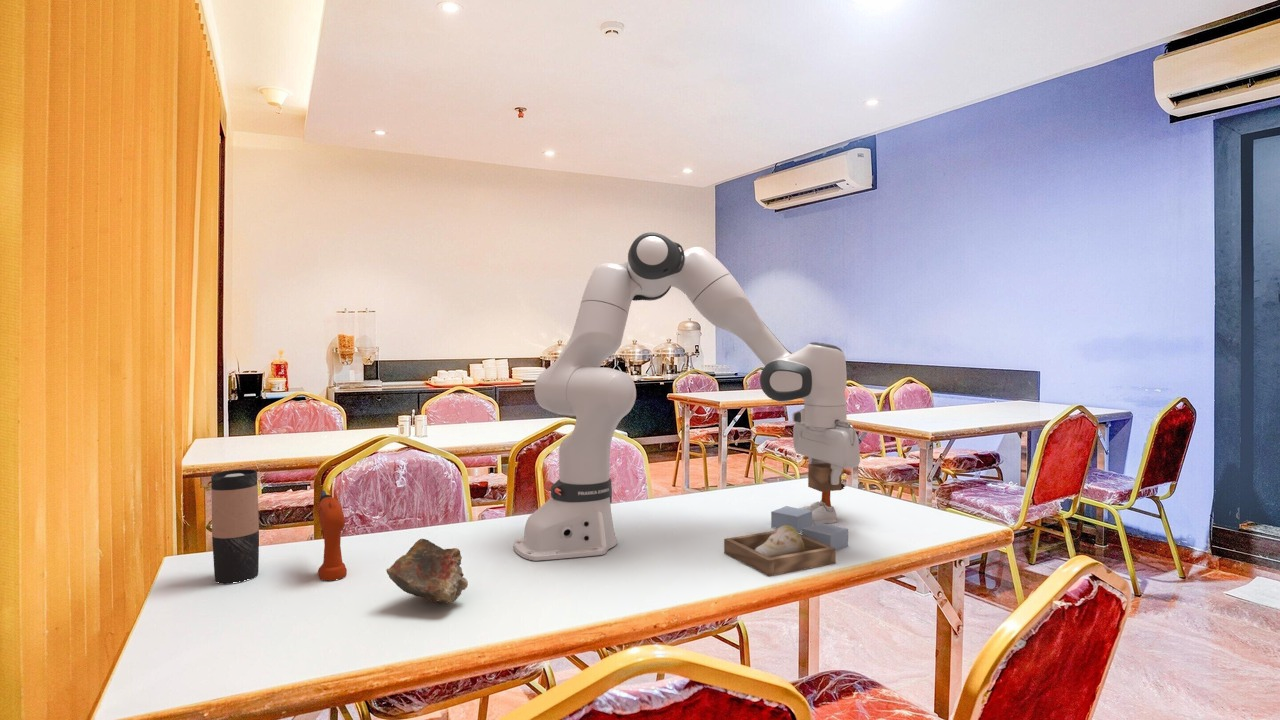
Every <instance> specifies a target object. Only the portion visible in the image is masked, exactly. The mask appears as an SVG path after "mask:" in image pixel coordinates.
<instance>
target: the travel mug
mask: <svg viewBox="0 0 1280 720" xmlns="http://www.w3.org/2000/svg"><path fill="white" fill-rule="evenodd" d="M210 478H211V479H210V480H211V481H210V482H211V483H210V484H211V487H210V488H211V538H212V540H211V541H212V556H213V571H214V573H213V574H214V582H215V581H216V582H219V583H233V582H239V581H244V580H247V579H251V578H253V579H255V578H256V577H258V575H259V569H260V568H259V566H260V565H259V561H260V560H259V558H260V557H259V556H260V555H259V553H260V551H259V550H260V549H259V548H260V547H259V546H260V522H259V521H260V520H259V518H260V517H259V515H260V514H259V492H258V491H259V490H258V489H259V488H258V471H257V470H255V469H247V468H245V469H233V470H232V469H230V470H224V471H220V472H219V471H218V472H215V473H213V474H212V475H211V476H210ZM255 576H256V577H255ZM254 577H255V578H254ZM251 580H252V579H251ZM216 582H215V583H216ZM219 583H218V584H219Z"/></svg>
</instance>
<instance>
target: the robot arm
mask: <svg viewBox="0 0 1280 720" xmlns="http://www.w3.org/2000/svg"><path fill="white" fill-rule="evenodd" d="M672 287H673V288H676V289H678V290H679V291H681V292H682V293H683V294H684V295H685V296H686V297H687V299H688V300H689V301H690V303H692V305H693V306H694V308H695V309H696V310H697V311H698V312H699V313H700V315H701V316H702V317H704V318H705V320H707V321H708V322H709V323H710V324H712V325H713V326H714V327H716V328H718V329H722V330H724V331H726V332H729V333H731V334H733V335H735V336H736V337H738V339H741V340H742V342H744V343H745V344H746V345H747V347H748V348H749V349H750V350H751V351H752V352H753V354H754V355H755V356H756V357H757V359H759V361H760V362H761V363H762V364H763V365H764V367H763V368H762V370H761V372H760V376H759V383H760V387H761V390H762V392H763V393H764V394H765V396H767V397H768V398H769V399H771V400H773V401H776V402H780V403H785V402H790V401H793V400H794V401H795V400H799V399H801V400H803V401H804V402H803V403H804V404H803V405H804V406H803V407H804V408H801V409H800V410H797V411H795V412H793V413H792V415H791V416H792V422H793V423H794V425H793V429H792V430H793V431H792V433H793V435H792V436H793V437H792V438H793V439H792V440H793V442H792V443H793V449H794V451H795V453H796V454H798V455H801V456H803V457H804V456H807V457H808V459H807V462H808V464H818V463H819V462H820V461H823V462H827V463H830V464H831V469H832V472H831V475H830V476H828V479H829V480H828V483H829V484H832V485H838V484H839V476H840V475H841V472H842V470H843V468H844V469H853V468H857V467H858V466H859V465H860V462H861V453H860V452H861V451H860V443H859V442H860V441H859V437H858V434H857V432H856V428H854V426H853V424H852V423H851V422H848V421H847V419H848V418H847V414H848V413H847V408H848V407H847V398H846V395H845V394H846V392H845V391H846V388H847V377H848V375H847V363H846V356H845V352H844V351H843V350H842V348H840V347H838V346H837V345H834V344H829V343H824V342H816V341H815V342H814V341H813V342H808V344H807V345H805V346H804V347H802V348H800V349H799V350H797V351H795V352H791V351H789V350H788V349H787V348H786V347H785V346H784V345H783V343H781V341H780V340H779V338H777V337H776V335H775V334H774V333H773V332H772V331H771V330H770V328H769V327H768V326H767V325H766V324H765V322H764V321H763V320H762V319H761V318H760V316H759V315H758V312H757V311H756V310H755V307H753V304H752V303H751V301H750V299H749V298H748V296H747V295H746V293H745V292H744V290H743V288H742V286H740V283H739V282H738V281H737V280H736V279H735V277H734V276H733V275H732V273H731V272H730V271H729V270H728V268H727V267H726V266H724V264H723V263H722V262H721V261H720V260H719V259H717V258H716V257H715V256H714V255H713V254H712V253H711V252H710V251H708V250H707V249H705V248H704V247H702V246H693V247H689V248H687V249H685V250H684V248H683V246H682V245H681V244H680V243H679V242H676V241H673V240H671V239H670V238H669V237H667V236H665V235H663V234H661V233H659V232H655V231H654V232H650V231H649V232H646V233H642V234H641V235H639V236H638V237H636V238H635V240H633V242H632V244H631V245H630V248H629V250H628V253H627V261H625V262H623V263H615V262H604V263H601V264H599V265H597V266H596V267H595V268H594V269H593V270H592V272H591V275H590V276H589V279H588V282H587V283H586V285H585V288H584V291H583V295H582V297H581V301H580V304H579V308H578V312H577V316H576V319H575V323H574V326H573V330H572V333H571V335H570V338H569V339H568V341H567V343H566V345H565V347H564V348H563V350H562V351H561V353H560V354H559V356H558V357H557V359H556V360H554V362H553V363H551V365H550V366H549V367H548V368H546V369H544V370H543V371H542V372H541V373H539V374H538V376H537V377H536V380H535V383H534V387H533V388H534V389H533V390H534V398H535V401H536V403H537V404H538V405H539V406H540V407H541V409H544V410H546V411H548V412H550V413H554V414H556V415H561V416H572V417H575V419H576V420H575V425H574V428H573V431H571V434H570V435H568V436H567V437H565V439H562V442H560V444H559V448H558V458H559V459H558V461H559V462H558V465H559V466H558V467H559V468H558V469H559V471H558V474H559V476H558V477H559V479H558V480H557V481H555V482H552V481H550V480H547V481H545V482H544V483H543V489H544V490H546V491H548V492H550V498H549V499H548V500H547V501H546V502H545V503H543V504H542V505H541V506H540V507H539V508H537V509H536V510H535V511H534V512H533V513H532V514H530V515H529V516H528V518H527V520H526V523H525V527H524V533H523V537H519V538H517V539H515V540H514V542H513V550H514V551H515V552H516V554H518V555H519V556H520V557H522V558H524V559H526V560H530V561H534V562H535V561H549V560H559V559H560V560H561V559H572V558H583V557H594V556H602V555H605V554H606V553H607V552H608V550H609V549H612V548H613V547H615V546H616V545H618V539H617V536H616V531H615V528H614V522H613V516H612V515H613V514H612V508H611V507H612V505H611V504H612V500H613V498H612V497H613V484H612V478H611V477H610V476H611V475H610V473H611V471H610V465H611V464H610V463H611V462H610V461H611V460H610V459H611V446H612V441H613V437H614V433H615V431H616V428H617V427H618V425H619V423H620V422H621V420H622V419H623V418H624V417H625V416H627V415H628V414H629V413H630V412H631V411H632V408H633V407H634V405H635V403H636V399H637V389H636V384H635V382H634V380H633V378H632V377H631V376H630V374H628V373H627V372H625V371H622V370H618V369H614V368H611V367H601V366H602V364H603V363H604V362H605V361H606V360H607V359H608V358H609V357H610V356H612V355H614V354H615V353H616V352H617V351H618V350H619V349H620V347H621V345H622V341H623V338H624V333H625V329H626V325H627V321H628V317H629V312H630V308H631V307H630V306H631V304H632V301H633V302H634V301H636V302H637V301H657V300H659V299H661V298H663V297H665V295H667V294H668V292H669V291H670V289H671V288H672ZM841 476H842V475H841Z"/></svg>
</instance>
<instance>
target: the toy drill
mask: <svg viewBox="0 0 1280 720" xmlns="http://www.w3.org/2000/svg"><path fill="white" fill-rule="evenodd" d="M320 494H321V497H319V498H320V499H319V504H318V505H317V512H318V517H319V523H320V528H321V529H322V531H323V542H324V544H323V545H324V549H323V561H322V564H321V565H320V566H319V567H318V570H317V575H318V577H319V579H320V578H321V579H320V580H322V579H323V580H322V581H324V580H335V581H337V580H336V579H339V580H341V579H340V578H342V579H344V578H346V577H347V574H348V573H347V572H348V569H347V567H346V565H345V563H344V562H343V555H342V548H341V539H342V538H341V536H342V531H343V529H345V527H346V526H345V525H346V521H345V515H344V511H343V508H342V505H341V503H340V501H339V500H338V499H336V498H335V497H333V496H332V495H330V494H327V492H326V490H323V489H322V490H321V491H320ZM343 577H344V578H343Z"/></svg>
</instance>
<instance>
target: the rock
mask: <svg viewBox="0 0 1280 720" xmlns="http://www.w3.org/2000/svg"><path fill="white" fill-rule="evenodd" d="M462 558H463V556H462V555H461V551H460V549H459V548H457V547H453V548H445V549H444V548H442V547H440V546H438V545H436V543H433V542H432V541H430V540H428V539H426V538H420V539H418V540H417V541H415V543H414V544H413V545H412V546H411V547H410V548H409V550H408V551H407V552H406V553H405V554H404V555H401V556H400V557H399V558H397V559H396V560H395V561H394V562H393V564H392V565H391V566H390V567H388V568H386V574H387V575H388V577H389V579H390V580H391V581H392V582H393V583H394V584H395V585H396V586H397V587H398V588H399V589H401V590H402V591H403V592H404V593H406V594H409V595H412V596H415V597H419V598H422V599H425V600H430V602H433V603H437V602H439V603H447V604H452V603H454V602H455V601H456V600H457V599H458V598H459V597H460V596H461V595H462V592H463V591H465V590H466V589H467V588H468V585H469V581H468V580H467V578H465V577H464V576H465V575H464V572H463V569H462V567H461V564H462Z"/></svg>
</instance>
